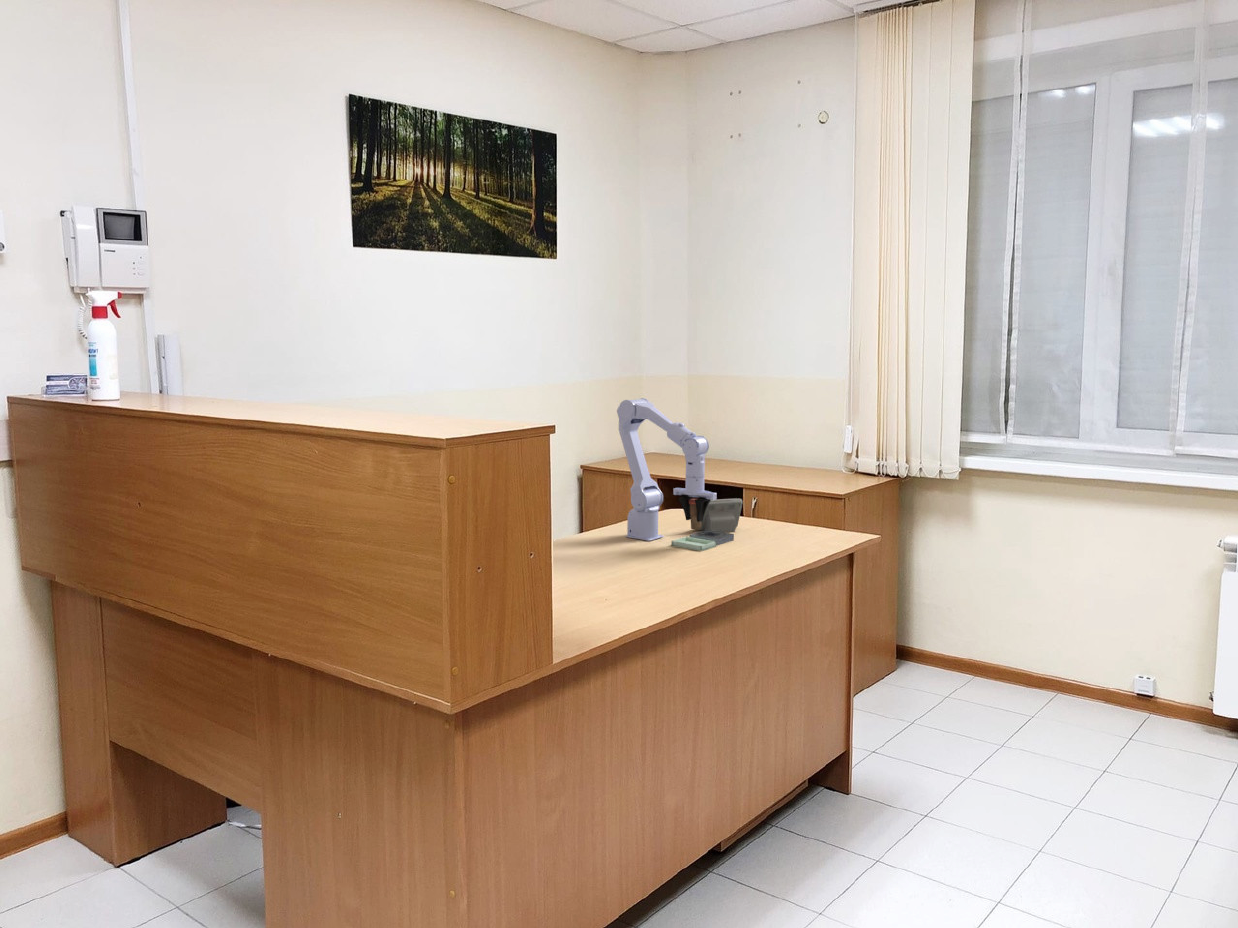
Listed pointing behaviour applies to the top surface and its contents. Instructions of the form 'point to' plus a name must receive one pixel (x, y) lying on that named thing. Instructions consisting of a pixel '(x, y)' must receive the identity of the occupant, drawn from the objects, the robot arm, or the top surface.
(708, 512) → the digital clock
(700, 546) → the tray
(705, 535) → the socket plate
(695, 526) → the pin
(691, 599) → the top surface
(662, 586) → the top surface
